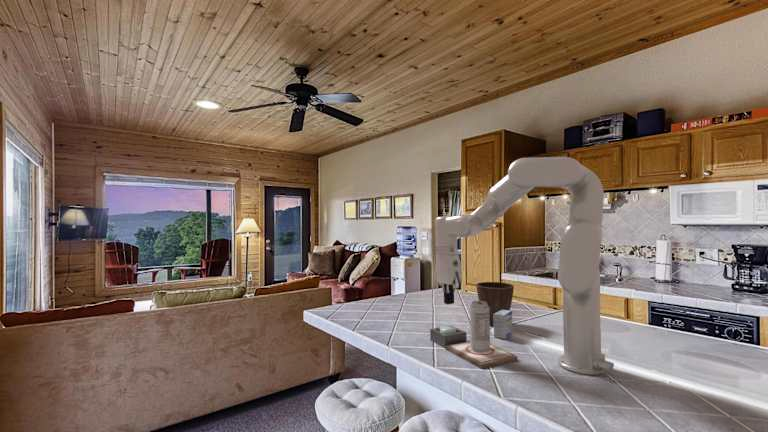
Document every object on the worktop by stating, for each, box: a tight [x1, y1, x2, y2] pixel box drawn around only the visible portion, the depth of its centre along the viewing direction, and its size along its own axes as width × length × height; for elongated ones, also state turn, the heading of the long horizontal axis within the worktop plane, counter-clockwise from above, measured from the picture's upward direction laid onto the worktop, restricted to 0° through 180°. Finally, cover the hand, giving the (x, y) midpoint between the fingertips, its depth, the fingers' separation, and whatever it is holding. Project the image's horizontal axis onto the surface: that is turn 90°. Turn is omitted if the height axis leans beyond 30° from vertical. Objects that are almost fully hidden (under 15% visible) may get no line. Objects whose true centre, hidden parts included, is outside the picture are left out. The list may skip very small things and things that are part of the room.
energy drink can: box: [469, 300, 491, 352], centre depth 117 cm, size 6×6×15 cm
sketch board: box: [445, 340, 518, 369], centre depth 117 cm, size 18×14×2 cm
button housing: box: [429, 325, 468, 348], centre depth 129 cm, size 9×9×4 cm
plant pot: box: [476, 281, 515, 327], centre depth 150 cm, size 15×15×16 cm
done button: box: [439, 325, 457, 334], centre depth 129 cm, size 6×6×3 cm
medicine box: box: [493, 310, 513, 340], centre depth 135 cm, size 8×4×9 cm, turn 143°
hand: (449, 303), depth 129 cm, fingers closed
